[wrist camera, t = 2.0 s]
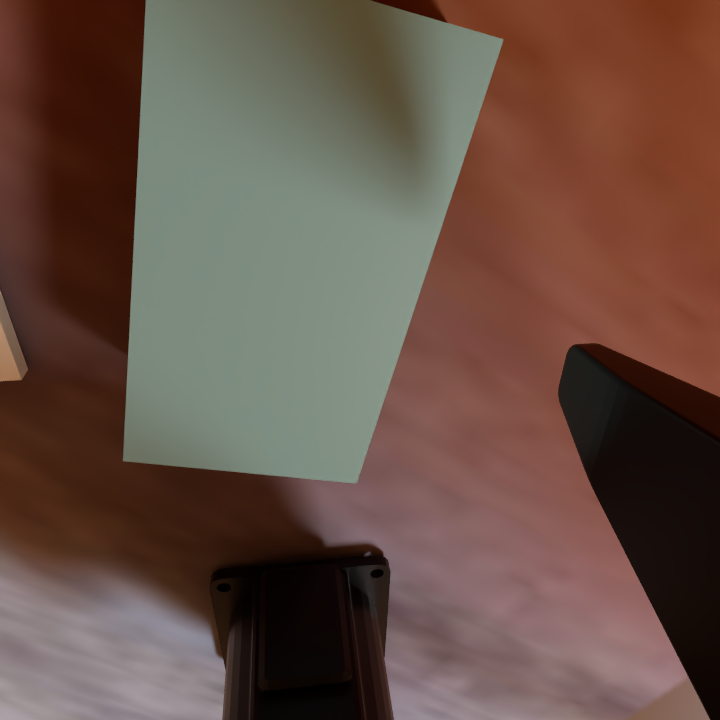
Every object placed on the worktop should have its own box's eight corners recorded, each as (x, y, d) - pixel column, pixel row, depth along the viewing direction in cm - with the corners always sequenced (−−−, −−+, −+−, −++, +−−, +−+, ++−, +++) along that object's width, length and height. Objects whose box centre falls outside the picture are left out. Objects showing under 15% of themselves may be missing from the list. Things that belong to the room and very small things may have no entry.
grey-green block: (341, 389, 18) (356, 483, 15) (153, 364, 17) (122, 461, 13) (445, 22, 13) (503, 39, 10) (185, -54, 12) (148, -65, 8)
